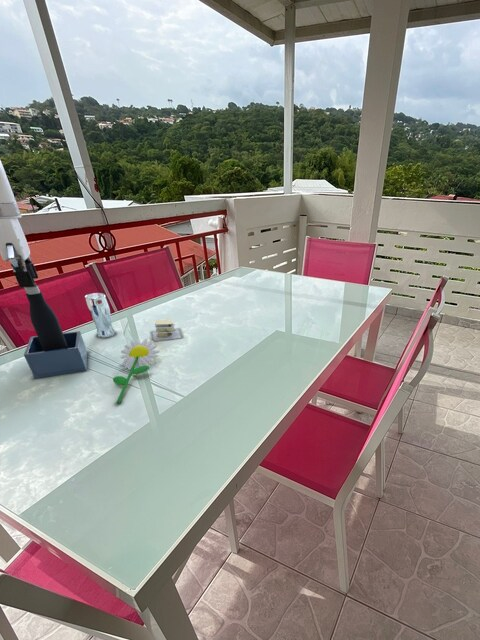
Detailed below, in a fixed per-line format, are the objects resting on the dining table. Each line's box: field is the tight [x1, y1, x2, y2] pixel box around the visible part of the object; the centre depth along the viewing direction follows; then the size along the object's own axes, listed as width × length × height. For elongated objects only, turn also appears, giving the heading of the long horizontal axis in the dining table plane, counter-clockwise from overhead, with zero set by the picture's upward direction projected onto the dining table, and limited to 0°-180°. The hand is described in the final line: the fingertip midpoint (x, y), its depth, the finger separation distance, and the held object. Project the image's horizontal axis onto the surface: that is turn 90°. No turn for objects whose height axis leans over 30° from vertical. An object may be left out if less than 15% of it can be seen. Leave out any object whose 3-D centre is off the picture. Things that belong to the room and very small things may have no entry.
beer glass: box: [84, 292, 116, 338], centre depth 123 cm, size 7×7×15 cm
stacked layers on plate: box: [152, 318, 182, 342], centre depth 128 cm, size 10×9×6 cm
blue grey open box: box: [23, 330, 88, 379], centre depth 105 cm, size 14×14×8 cm
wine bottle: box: [21, 263, 68, 351], centre depth 98 cm, size 6×6×30 cm
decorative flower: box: [112, 338, 160, 404], centre depth 103 cm, size 13×5×30 cm
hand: (29, 282), depth 92 cm, fingers open, 7 cm apart
